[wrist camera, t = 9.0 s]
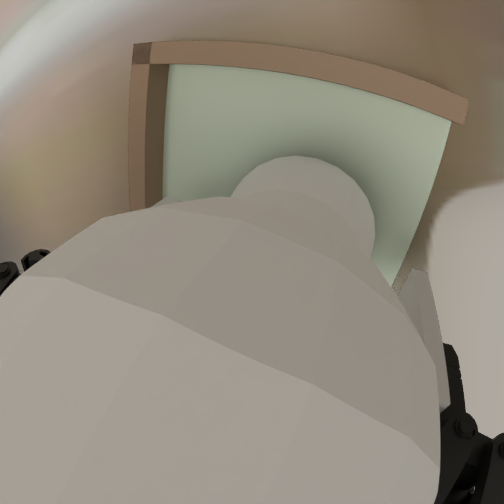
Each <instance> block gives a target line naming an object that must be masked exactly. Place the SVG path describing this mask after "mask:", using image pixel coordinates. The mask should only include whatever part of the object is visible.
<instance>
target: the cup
mask: <svg viewBox="0 0 504 504" xmlns="http://www.w3.org/2000/svg"><path fill="white" fill-rule="evenodd" d="M374 240H375V222H374V215H373V212H372V209H371V206H370V204H369V201H368V198H367V197H366V195H365V194H364V192H363V191H362V190H361V188H360V187H359V186H358V184H357V183H356V182H355V180H353V179H352V178H351V177H350V176H348V175H347V174H346V173H345V172H343V171H342V170H341V169H340V168H338V167H336V166H334V165H332V164H330V163H327V162H325V161H322V160H320V159H318V158H311V157H304V156H296V155H295V156H288V157H281V158H275V159H273V160H270V161H268V162H266V163H264V164H261V165H259V166H257V167H256V168H255V169H254V170H252V171H251V172H250V173H249V174H248V175H247V176H245V177H244V178H243V179H242V181H241V182H240V183H239V185H238V186H237V187H236V189H235V190H234V192H233V194H232V195H231V197H223V196H219V197H211V198H205V199H198V200H191V201H185V202H179V203H173V204H167V205H162V206H157V207H151V208H146V209H141V210H136V211H131V212H126V213H122V214H117V215H112V216H108V217H103V218H101V219H100V220H98V221H97V222H95V223H94V224H92V225H90V226H89V227H87V228H86V229H84V230H83V231H81V232H80V233H78V234H77V235H75V236H74V237H72V238H71V239H69V240H68V241H66V242H65V243H64V244H62V245H61V246H59V247H58V248H56V249H55V250H54V251H52V252H51V253H49V254H48V255H47V256H45V257H44V258H42V259H41V260H40V261H38V262H37V263H36V264H34V265H33V266H32V267H30V268H29V269H28V270H26V271H25V272H24V273H22V274H21V275H20V276H19V277H18V278H17V279H16V280H15V281H14V282H13V283H12V284H11V285H10V286H9V287H8V288H7V289H6V290H5V291H4V292H3V294H2V295H1V296H0V504H434V501H435V499H436V496H437V493H438V485H439V475H440V412H439V397H438V385H437V375H436V366H435V364H434V362H433V360H432V358H431V356H430V354H429V352H428V350H427V348H426V347H425V345H424V343H423V341H422V339H421V337H420V335H419V334H418V332H417V330H416V328H415V326H414V325H413V323H412V321H411V319H410V317H409V316H408V314H407V312H406V310H405V309H404V307H403V305H402V304H401V302H400V300H399V299H398V297H397V296H396V294H395V293H394V291H393V290H392V288H391V287H390V285H389V284H388V282H387V281H386V279H385V278H384V276H383V275H382V273H381V272H380V270H379V269H378V267H377V266H376V264H375V263H374V262H373V261H371V260H370V258H371V254H372V250H373V246H374Z"/></svg>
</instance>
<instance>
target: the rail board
mask: <svg viewBox="0 0 504 504" xmlns="http://www.w3.org/2000/svg"><path fill="white" fill-rule="evenodd" d="M468 105H469V100H468V99H466V98H463V97H461V96H459V95H457V94H455V93H452V92H450V91H448V90H445V89H443V88H440V87H438V86H436V85H433V84H430V83H428V82H425V81H423V80H420V79H417V78H414V77H412V76H409V75H406V74H403V73H400V72H397V71H394V70H390V69H387V68H384V67H380V66H377V65H374V64H370V63H366V62H362V61H359V60H355V59H350V58H346V57H342V56H337V55H333V54H328V53H323V52H318V51H312V50H306V49H300V48H294V47H286V46H279V45H270V44H261V43H249V42H234V41H165V42H150V43H139V44H134V48H133V58H132V69H131V82H130V99H129V129H128V165H129V196H130V212H131V211H136V210H141V209H146V208H150V207H152V206H153V205H155V204H156V203H158V202H159V201H161V200H162V199H164V198H166V197H167V196H169V197H173V198H177V199H180V200H181V202H185V201H191V200H198V199H205V198H211V197H219V196H223V197H231V195H232V194H233V192H234V190H235V189H236V187H237V186H238V185H239V183H240V182H241V181H242V179H243V178H244V177H245V176H247V175H248V174H249V173H250V172H251V171H252V170H254V169H255V168H256V167H257V166H259V165H261V164H264V163H266V162H268V161H270V160H273V159H275V158H281V157H288V156H295V155H296V156H304V157H311V158H318V159H320V160H322V161H325V162H327V163H330V164H332V165H334V166H336V167H338V168H340V169H341V170H342V171H343V172H345V173H346V174H347V175H348V176H350V177H351V178H352V179H353V180H355V182H356V183H357V184H358V186H359V187H360V188H361V190H362V191H363V192H364V194H365V195H366V197H367V198H368V201H369V204H370V206H371V209H372V212H373V215H374V222H375V240H374V246H373V250H372V254H371V258H370V260H371V261H373V262H374V263H375V264H376V266H377V267H378V269H379V270H380V272H381V273H382V275H383V276H384V278H385V279H386V281H387V282H388V284H389V285H390V287H391V286H392V284H393V282H394V280H395V278H396V275H397V273H398V271H399V269H400V267H401V265H402V262H403V260H404V258H405V256H406V253H407V251H408V249H409V246H410V244H411V242H412V239H413V237H414V234H415V232H416V229H417V227H418V224H419V222H420V219H421V217H422V214H423V211H424V209H425V206H426V203H427V200H428V198H429V195H430V192H431V189H432V186H433V183H434V180H435V177H436V174H437V171H438V168H439V164H440V161H441V158H442V155H443V151H444V148H445V144H446V141H447V137H448V133H449V129H450V125H451V121H452V122H455V123H457V124H460V125H463V126H464V122H465V118H466V114H467V109H468Z"/></svg>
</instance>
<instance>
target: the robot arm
mask: <svg viewBox="0 0 504 504" xmlns="http://www.w3.org/2000/svg"><path fill="white" fill-rule="evenodd" d="M179 202H181V200H180V199H177V198H173V197H169V196H167V197H166V198H164V199H162V200H161V201H159V202H158V203H156V204H155V205H153V206H152V207H157V206H162V205H167V204H173V203H179ZM150 208H151V207H150ZM49 253H51V252H49V251H48V250H43V249H40V250H35V251H32V252H30V253H28V254H27V255H25V256H24V257H23V258H22V259H21V262H22V265H23V269H24V272H25V271H26V270H28V269H29V268H30V267H32V266H33V265H34V264H36V263H37V262H38V261H40V260H41V259H42V258H44V257H45V256H47V255H48V254H49ZM20 275H21V274H20V273H19V270H18V268H17V265H16V264H15V263H13V262H3V263H1V264H0V296H1V295H2V294H3V292H4V291H5V290H6V289H7V288H8V287H9V286H10V285H11V284H12V283H13V282H14V281H15V280H16V279H17V278H18V277H19V276H20ZM398 299H399V300H400V302H401V304H402V305H403V307H404V309H405V310H406V312H407V314H408V316H409V317H410V319H411V321H412V323H413V325H414V326H415V328H416V330H417V332H418V334H419V335H420V337H421V339H422V341H423V343H424V345H425V347H426V348H427V350H428V352H429V354H430V356H431V358H432V360H433V362H434V364H435V366H436V375H437V385H438V397H439V412H440V475H439V485H438V493H437V496H436V499H435V501H434V504H504V433H501V434H499V435H498V436H496V437H495V438H494V439H491V438H489V437H487V436H485V435H483V434H481V433H479V432H478V428H477V424H476V422H475V420H474V419H473V418H472V416H471V415H470V414H468V413H466V410H465V401H464V392H463V385H462V380H461V373H460V370H459V368H460V366H459V360H458V356H457V354H456V352H455V350H454V349H453V347H452V345H449V344H445V343H443V342H442V336H441V332H440V326H439V321H438V316H437V311H436V307H435V303H434V298H433V294H432V290H431V286H430V282H429V278H428V274H427V272H424V271H421V270H418V269H415V268H412V269H411V271H410V273H409V275H408V277H407V279H406V281H405V283H404V285H403V287H402V289H401V291H400V293H399V295H398ZM474 487H475V490H474ZM473 491H474V493H473Z"/></svg>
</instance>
